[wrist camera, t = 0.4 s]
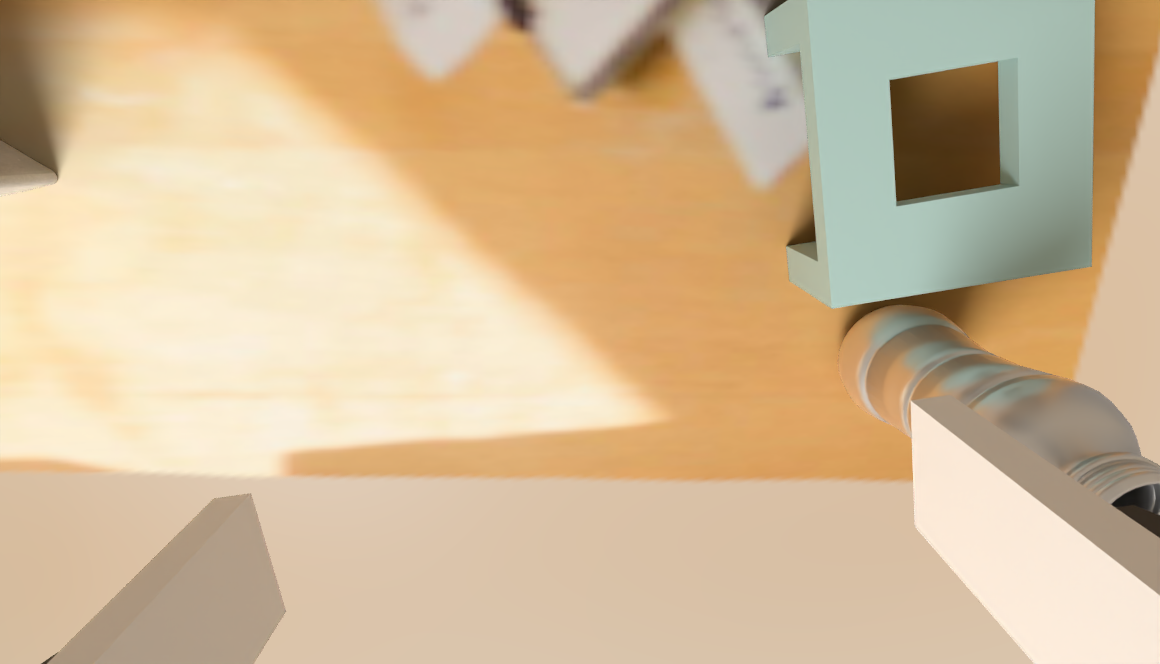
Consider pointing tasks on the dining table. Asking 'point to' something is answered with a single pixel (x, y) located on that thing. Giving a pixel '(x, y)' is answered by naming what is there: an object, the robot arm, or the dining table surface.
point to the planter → (21, 172)
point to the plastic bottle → (995, 399)
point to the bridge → (865, 144)
